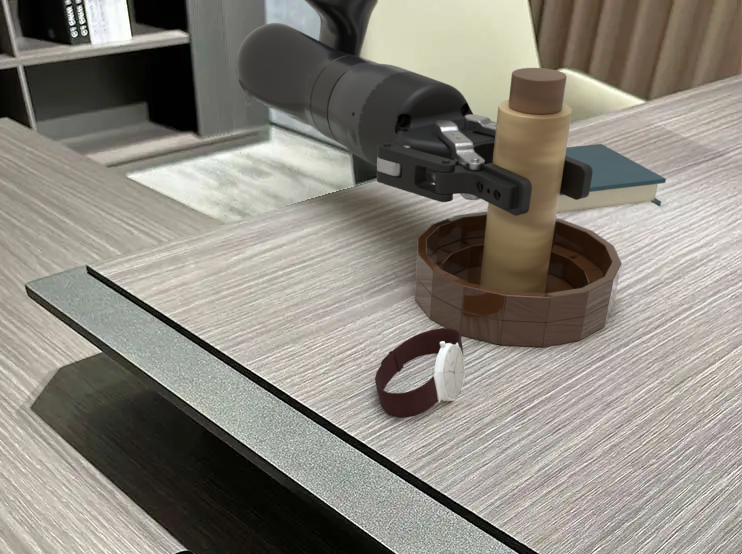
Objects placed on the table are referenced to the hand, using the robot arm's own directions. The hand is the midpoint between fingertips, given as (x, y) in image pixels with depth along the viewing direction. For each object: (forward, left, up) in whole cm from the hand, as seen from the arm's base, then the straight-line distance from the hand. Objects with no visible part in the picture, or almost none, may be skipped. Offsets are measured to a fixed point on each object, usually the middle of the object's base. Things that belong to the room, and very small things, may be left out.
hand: (556, 191), depth 50 cm
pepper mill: (+1, -3, -9) cm, 9 cm away
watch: (+11, +5, -9) cm, 15 cm away
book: (-13, -20, -9) cm, 25 cm away
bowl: (+1, -3, -9) cm, 9 cm away
